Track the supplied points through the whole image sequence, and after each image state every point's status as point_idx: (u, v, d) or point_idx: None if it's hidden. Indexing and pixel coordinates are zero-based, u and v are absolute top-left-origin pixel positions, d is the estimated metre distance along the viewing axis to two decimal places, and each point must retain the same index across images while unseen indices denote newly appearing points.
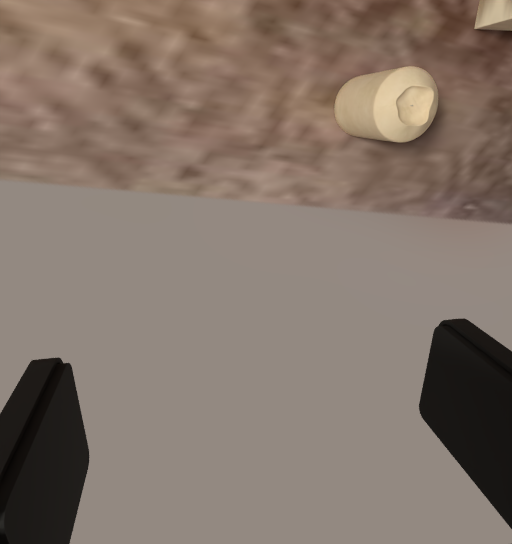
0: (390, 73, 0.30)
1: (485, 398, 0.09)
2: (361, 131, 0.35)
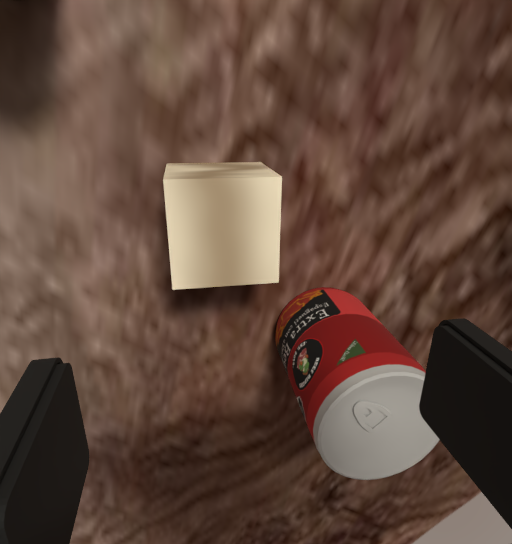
0: None
1: (485, 398, 0.09)
2: None
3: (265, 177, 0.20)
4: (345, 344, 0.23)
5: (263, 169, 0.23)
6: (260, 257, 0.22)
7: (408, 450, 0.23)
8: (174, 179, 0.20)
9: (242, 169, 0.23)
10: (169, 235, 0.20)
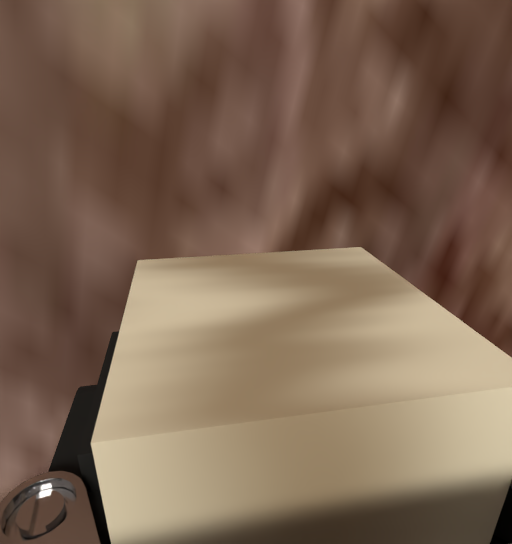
0: None
1: None
2: None
3: (488, 388, 0.05)
4: None
5: (411, 301, 0.08)
6: None
7: None
8: (141, 430, 0.05)
9: (352, 303, 0.08)
10: None
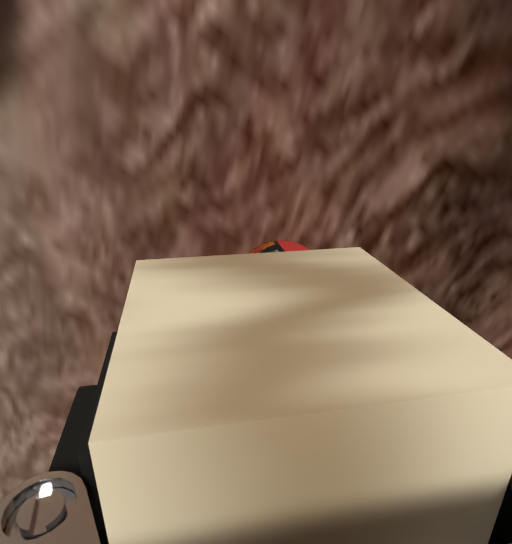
0: None
1: None
2: None
3: (486, 388, 0.05)
4: None
5: (410, 301, 0.08)
6: None
7: None
8: (137, 431, 0.05)
9: (350, 303, 0.08)
10: None
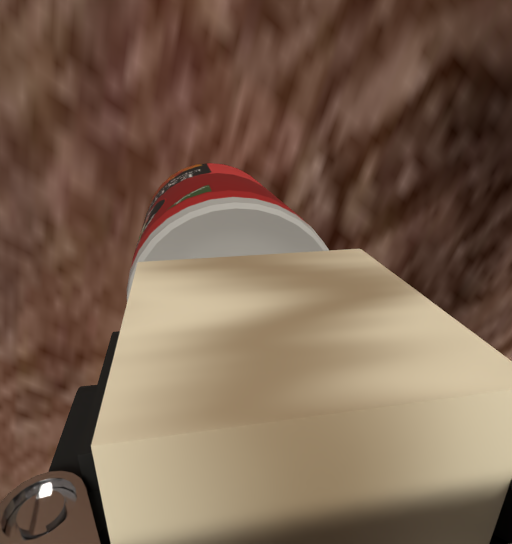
0: None
1: None
2: None
3: (487, 391, 0.05)
4: (191, 190, 0.15)
5: (411, 303, 0.08)
6: None
7: None
8: (140, 433, 0.05)
9: (351, 305, 0.08)
10: None
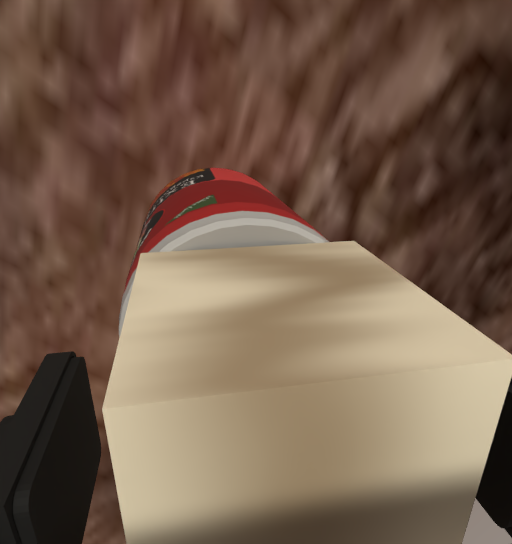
0: None
1: None
2: None
3: (464, 363, 0.06)
4: (193, 201, 0.13)
5: (399, 288, 0.08)
6: None
7: None
8: (146, 399, 0.05)
9: (343, 290, 0.08)
10: None
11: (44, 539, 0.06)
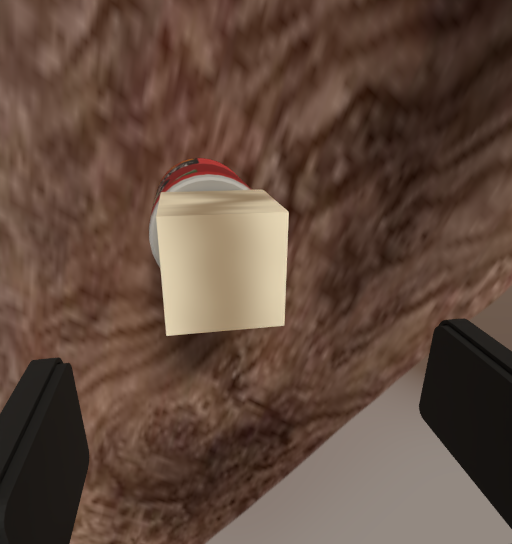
0: None
1: (485, 398, 0.09)
2: None
3: (270, 212, 0.18)
4: (185, 172, 0.26)
5: (267, 200, 0.21)
6: (264, 298, 0.20)
7: None
8: (168, 215, 0.17)
9: (244, 200, 0.21)
10: (163, 277, 0.18)
11: None
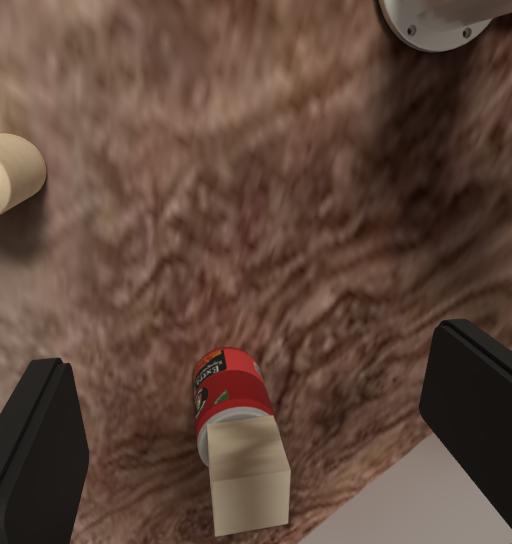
0: None
1: (485, 398, 0.09)
2: None
3: (279, 471, 0.30)
4: (220, 392, 0.37)
5: (277, 444, 0.33)
6: (275, 512, 0.32)
7: None
8: (219, 480, 0.29)
9: (262, 445, 0.32)
10: (214, 509, 0.30)
11: None
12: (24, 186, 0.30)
